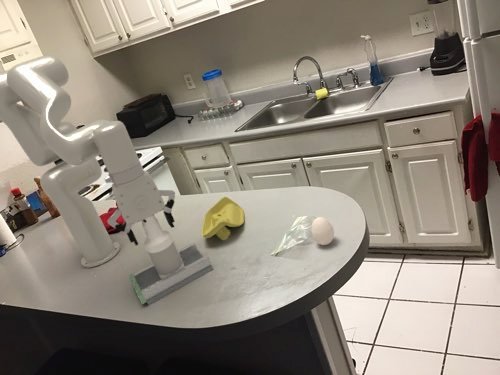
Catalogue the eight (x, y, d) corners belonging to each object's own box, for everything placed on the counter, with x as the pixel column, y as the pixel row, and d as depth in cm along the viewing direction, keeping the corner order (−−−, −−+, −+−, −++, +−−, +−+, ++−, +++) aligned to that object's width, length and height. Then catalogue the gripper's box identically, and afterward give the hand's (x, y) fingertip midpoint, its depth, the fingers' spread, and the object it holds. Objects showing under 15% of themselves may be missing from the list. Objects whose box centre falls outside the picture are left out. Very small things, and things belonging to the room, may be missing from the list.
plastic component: (205, 213, 137) (227, 193, 135) (221, 229, 139) (243, 208, 137) (199, 241, 118) (225, 217, 116) (218, 258, 120) (244, 235, 118)
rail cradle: (133, 286, 115) (128, 275, 113) (197, 252, 121) (193, 241, 119) (143, 307, 104) (138, 296, 103) (213, 269, 110) (208, 257, 109)
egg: (332, 250, 102) (325, 224, 99) (312, 249, 104) (304, 224, 102) (339, 237, 106) (332, 211, 103) (319, 237, 108) (312, 212, 106)
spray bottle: (156, 283, 111) (128, 224, 104) (166, 266, 116) (140, 209, 110) (180, 280, 108) (152, 219, 101) (189, 263, 114) (163, 205, 107)
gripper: (93, 193, 95) (124, 256, 102) (165, 162, 101) (189, 224, 108) (89, 185, 102) (118, 244, 108) (157, 156, 107) (180, 214, 114)
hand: (154, 234), depth 108 cm, fingers open, 9 cm apart
